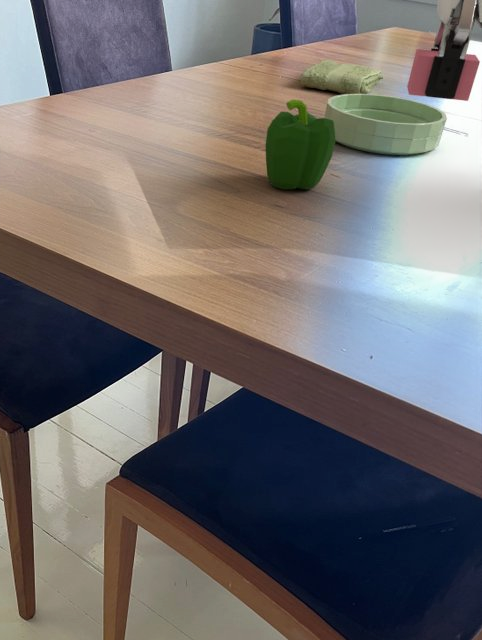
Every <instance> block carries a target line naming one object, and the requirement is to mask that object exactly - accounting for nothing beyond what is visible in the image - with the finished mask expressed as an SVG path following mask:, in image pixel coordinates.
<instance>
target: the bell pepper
mask: <svg viewBox="0 0 482 640" xmlns="http://www.w3.org/2000/svg"><path fill="white" fill-rule="evenodd" d="M286 107H287V109H288V110H289V111H293V110H294V109H297V110H298V112H297V113H298V114H293V113H291V112H289V111H280V112H279V113H278V114H277V115H276V116H275V117H274V118H273V119H272V120H271V122H270V124H269V126H268V128H267V130H266V137H265V144H264V145H265V165H266V177H267V180H268V182H269V184H271V185H272V186H273V187H275V188H278V189H281V190H295V189H299V190H312V189H313V188H315V187H316V186H317V185H318V184H319V183H320V182H321V180H322V178H323V176H324V174H325V173H326V170H327V168H328V167H329V164H330V163H331V159H332V157H333V153H334V150H335V145H336V143H337V141H336V136H335V127H334V121H333V120H330V119H326V118H324V117H319V118H317V117H316V116H314V115H313V114H311V113H309V112H308V110H307V105H306V104H305V103H304V102H303V100H301V99H291V100H289V101H287V102H286Z"/></svg>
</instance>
